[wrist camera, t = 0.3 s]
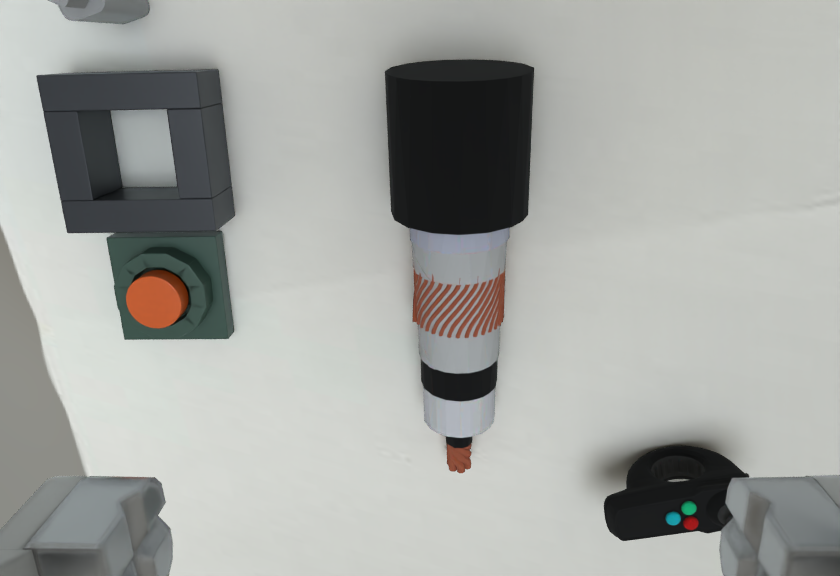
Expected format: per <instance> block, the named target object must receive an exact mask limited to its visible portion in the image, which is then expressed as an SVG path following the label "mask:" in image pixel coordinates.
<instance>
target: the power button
mask: <svg viewBox="0 0 840 576" xmlns="http://www.w3.org/2000/svg"><path fill="white" fill-rule="evenodd" d="M188 300H189V298H188V292H187V289H186V287H185V285H184V283H183V282H182V281H181V280H180V279H179V278H178V277H177V276H176V275H174V274H172V273H170V272H167V271H164V270H152V271H149V272H146V273H145V274H143V275H142V276H141V277H139V278H138V279H137V280H135V281H134V282H133V283H132V284H131V285H130V286H129V288H128V291H127V294H126V303H127V307H128V310H129V312H130V313H131V315H132V316H133V317H134V318H135V319H136V320H137V321H138V322H139V323H141V324H143V325H145V326H147V327H150V328H165V327H168V326H170V325H172V324H173V323H174V322H175V321H176V320H177V319H178V318H179V317H180V316H181V315H182V314H183V313H184V312H185V310H186V308H187V306H188Z"/></svg>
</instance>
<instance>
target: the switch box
mask: <svg viewBox="0 0 840 576" xmlns="http://www.w3.org/2000/svg"><path fill="white" fill-rule="evenodd" d="M107 243H108V249H109V255H110V260H111V266H112V271H113V277H114V283H115V285H114V289H115V295H116V301H117V306H118V309H119V311H120V316H121V322H122V328H123V333H124V339H125V340H127V339H228V338H229V337H230V336H231V334H232V333H233V332H234V328H233V319H232V311H231V303H230V295H229V286H228V278H227V270H226V262H225V253H224V245H223V237H222V231H200V232H126V233H114V234H113V235H111V236H109V237H107ZM152 270H164V271H167V272H170V273H172V274H174V275H176V276H177V277H178V278H179V279H180V280H181V281H182V282H183V283H184V285H185V287H186V289H187V292H188V298H189V300H188V306H187V308H186V310H185V312H184V313H183V314H182V315H181V316H180V317H179V318H178V319H177V320H176V321H175V322H174V323H173V324H172V325H170V326H168V327H165V328H150V327H147V326H145V325H143V324H141V323H139V322H138V321H137V320H136V319H135V318H134V317H133V316H132V315H131V313H130V312H129V310H128V307H127V303H126V294H127V291H128V288H129V286H130V285H131V284H132V283H133V282H134V281H135V280H137V279H138V278H139V277H141V276H142V275H143V274H145V273H146V272H149V271H152Z"/></svg>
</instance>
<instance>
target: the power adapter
mask: <svg viewBox="0 0 840 576" xmlns="http://www.w3.org/2000/svg"><path fill="white" fill-rule="evenodd" d="M48 1H51V2H53V3H55V4H57V5H58V6H59V8H60V10H61V12H62V14H63V15H64V17H65V18H67V19H68V20H71V21H84V22H99V23H114V24H125V23H128V22H131V21H134V20H136V19H139V18H142V17H144V16H146V15H147V14H148V12H149V3H148V0H48Z"/></svg>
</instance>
